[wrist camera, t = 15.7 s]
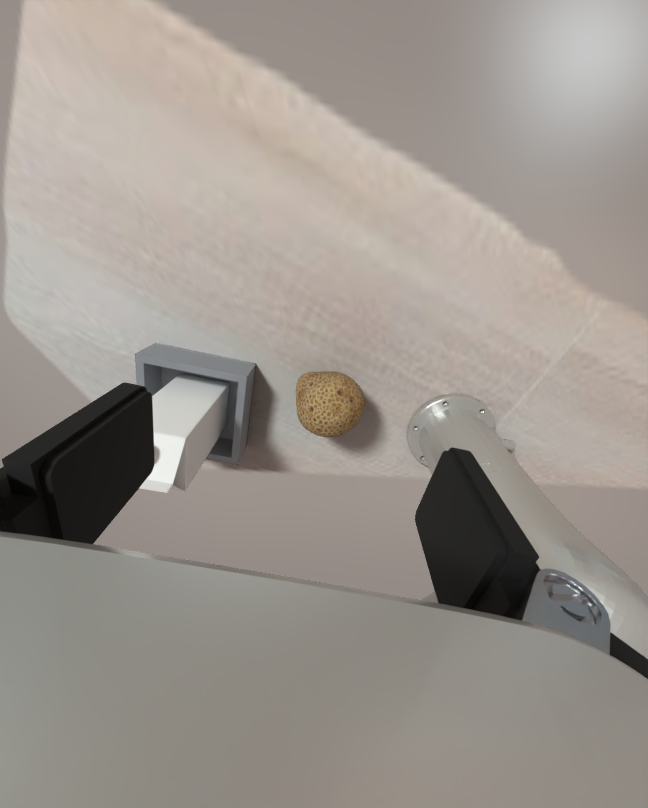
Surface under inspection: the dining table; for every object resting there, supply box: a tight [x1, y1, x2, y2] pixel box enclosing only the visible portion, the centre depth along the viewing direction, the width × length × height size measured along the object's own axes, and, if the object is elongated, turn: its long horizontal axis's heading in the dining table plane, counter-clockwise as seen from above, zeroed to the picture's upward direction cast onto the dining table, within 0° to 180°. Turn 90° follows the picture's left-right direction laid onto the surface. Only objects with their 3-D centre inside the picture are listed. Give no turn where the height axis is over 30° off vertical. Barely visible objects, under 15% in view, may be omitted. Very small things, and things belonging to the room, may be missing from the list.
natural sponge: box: [296, 372, 365, 437], centre depth 42 cm, size 9×9×10 cm
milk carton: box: [139, 374, 229, 493], centre depth 39 cm, size 7×7×19 cm
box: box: [135, 343, 256, 465], centre depth 46 cm, size 14×14×5 cm
